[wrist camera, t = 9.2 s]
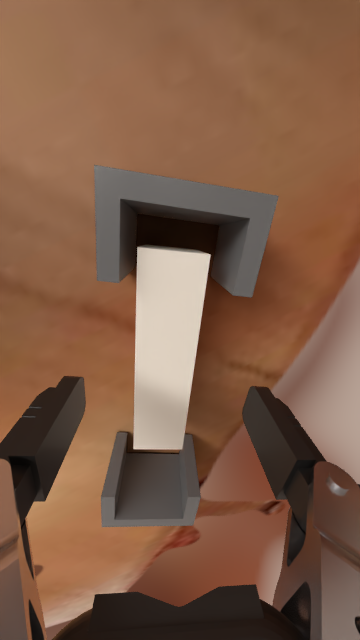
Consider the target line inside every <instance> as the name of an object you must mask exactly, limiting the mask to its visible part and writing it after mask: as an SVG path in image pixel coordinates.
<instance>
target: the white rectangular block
mask: <svg viewBox="0 0 360 640" xmlns="http://www.w3.org/2000/svg"><path fill="white" fill-rule="evenodd" d="M210 255H211V254H208V253H205V252H202V251H200V250H197V249H187V248H177V247H167V246H157V245H147V244H146V245H143V246H140V247H137V289H136V341H135V394H134V446H133V449H182V448H183V441H184V434H185V427H186V420H187V413H188V406H189V399H190V393H191V386H192V379H193V372H194V365H195V358H196V351H197V345H198V338H199V331H200V324H201V317H202V310H203V303H204V296H205V290H206V283H207V276H208V269H209V262H210Z"/></svg>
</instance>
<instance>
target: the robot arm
mask: <svg viewBox="0 0 360 640" xmlns="http://www.w3.org/2000/svg"><path fill="white" fill-rule="evenodd" d="M85 404H86V401H85V387H84V378H83V377H75V376H64V377H63V378H62V379H61V381H60V382H59V384H58V385H57V387H56V388H53V387H49V388H48V389H46V390H45V391H43V392H42V393H41V394H39V395H38V396H37V397H36V398H35V400H34V401H33V402H32V403H31V405H30V406H29V409H27V410H26V411H25V412H24V414H23V415H22V418H20V419H19V420H18V421H17V423H16V424H15V425H14V427H13V428H12V429H11V430H10V432H9V433H8V434H7V435H6V437H5V438H4V439H3V441H2V442H1V443H0V640H47V637H46V630H45V624H44V618H43V612H42V607H41V602H40V597H39V593H38V588H37V583H36V577H35V570H34V564H33V557H32V551H31V544H30V538H29V531H28V525H27V518H26V516H27V514H28V512H29V510H30V508H31V506H32V504H33V502H34V501H45V500H46V498H47V496H48V494H49V491H50V489H51V487H52V485H53V482H54V480H55V478H56V476H57V473H58V471H59V469H60V467H61V464H62V462H63V460H64V458H65V455H66V453H67V451H68V449H69V446H70V444H71V442H72V440H73V437H74V435H75V433H76V431H77V428H78V426H79V424H80V422H81V419H82V417H83V414H84V411H85ZM242 415H243V421H244V424H245V426H246V429H247V431H248V433H249V436H250V438H251V441H252V443H253V445H254V448H255V450H256V452H257V455H258V457H259V460H260V462H261V465H262V467H263V469H264V472H265V474H266V476H267V479H268V481H269V484H270V486H271V488H272V491H273V493H274V495H275V498H276V500H279V499H287V500H288V502H289V504H290V506H291V507H290V509H289V511H288V520H287V528H286V537H285V545H284V553H283V561H282V569H281V574H280V577H279V580H278V583H277V586H276V590H275V594H274V599H273V605H272V606H271V605H270V604H268V603H266V602H264V601H262V600H261V599H259V595H258V591H257V587H256V585H239V586H225V587H224V586H223V587H218V588H216V589H214V590H212V591H210V592H208V593H206V594H205V595H203V596H201V597H199V598H197V599H196V600H193V601H192V602H190V603H188V604H186V605H184V606H182V607H177V606H173V605H171V604H168V603H165V602H163V601H160V600H157V599H155V598H152V597H149V596H147V595H144V594H142V593H139V592H128V593H112V594H96V595H95V598H94V603H93V608H92V609H90V610H88V611H86V612H84V613H83V614H81V615H80V616H78V617H77V618H75V619H74V620H72V621H71V622H70V623H69V624H68V625H67V626H65V627H64V628H63V629H62V630H61V631H60V632H59V633H58V634H57V635H56V636H55V637H54V638H53V639H52V640H360V485H359V484H357V483H356V482H355V481H354V479H353V478H352V477H351V476H350V475H349V474H348V473H346V472H345V471H344V470H343V469H341V468H340V467H338V466H336V465H334V464H332V463H330V462H327V461H326V460H325V459H324V457H323V456H322V454H321V453H320V452H319V450H318V449H317V447H316V446H315V444H314V443H313V442H312V440H311V439H310V437H309V436H308V435H307V433H306V432H305V431H304V429H303V428H302V427H301V425H300V423H299V422H298V420H297V419H295V416H294V415H293V413H292V412H291V410H290V409H289V408H288V406H286V405H285V404H284V403H283V402H282V401H281V400H279V399H278V398H275V397H274V395H273V394H272V393H271V391H270V390H269V388H267V387H257V386H251V387H250V389H249V392H248V395H247V398H246V401H245V404H244V407H243V412H242Z"/></svg>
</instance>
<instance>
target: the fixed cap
mask: <svg viewBox="0 0 360 640" xmlns="http://www.w3.org/2000/svg"><path fill="white" fill-rule="evenodd" d="M94 172H95V216H96V260H97V281H105V282H114V283H119V282H120V281H121V280H122V279H124V278H125V277H126V276H127V275H128V274H129V273H130V272H131V271H132V270H133V269H134V268H135V255H136V233H137V214H144V215H151V216H158V217H165V218H171V219H178V220H185V221H192V222H199V223H205V224H212V225H219V231H218V237H217V243H216V248H215V254H214V259H213V265H212V271H211V277H212V278H213V279H214V280H215V281H217V282H218V283H219V284H220V285H221V286H222V287H224V288H225V289H226V290H227V291H228V292H230V293H231V294H232V295H234V296H243V297H252V295H253V292H254V288H255V284H256V280H257V276H258V272H259V269H260V265H261V261H262V257H263V253H264V250H265V246H266V242H267V238H268V234H269V231H270V227H271V223H272V219H273V215H274V212H275V208H276V204H277V200H278V196H276V195H270V194H264V193H258V192H252V191H246V190H240V189H234V188H229V187H223V186H217V185H211V184H205V183H199V182H193V181H187V180H181V179H175V178H169V177H163V176H157V175H151V174H145V173H139V172H134V171H128V170H122V169H116V168H110V167H104V166H98V165H94Z"/></svg>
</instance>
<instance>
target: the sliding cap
mask: <svg viewBox="0 0 360 640" xmlns="http://www.w3.org/2000/svg"><path fill="white" fill-rule="evenodd" d="M200 498H201V496H200V489H199V481H198V474H197V467H196V459H195V452H194V445H193V437H192V435H188V434H184V441H183V448H182V449H180V451H179V454H144V453H127V433H124V432H117V435H116V439H115V443H114V447H113V451H112V455H111V459H110V463H109V467H108V471H107V475H106V479H105V483H104V487H103V491H102V495H101V515H102V527H131V526H186V525H193V524H194V520H195V516H196V513H197V509H198V505H199V501H200Z"/></svg>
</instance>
